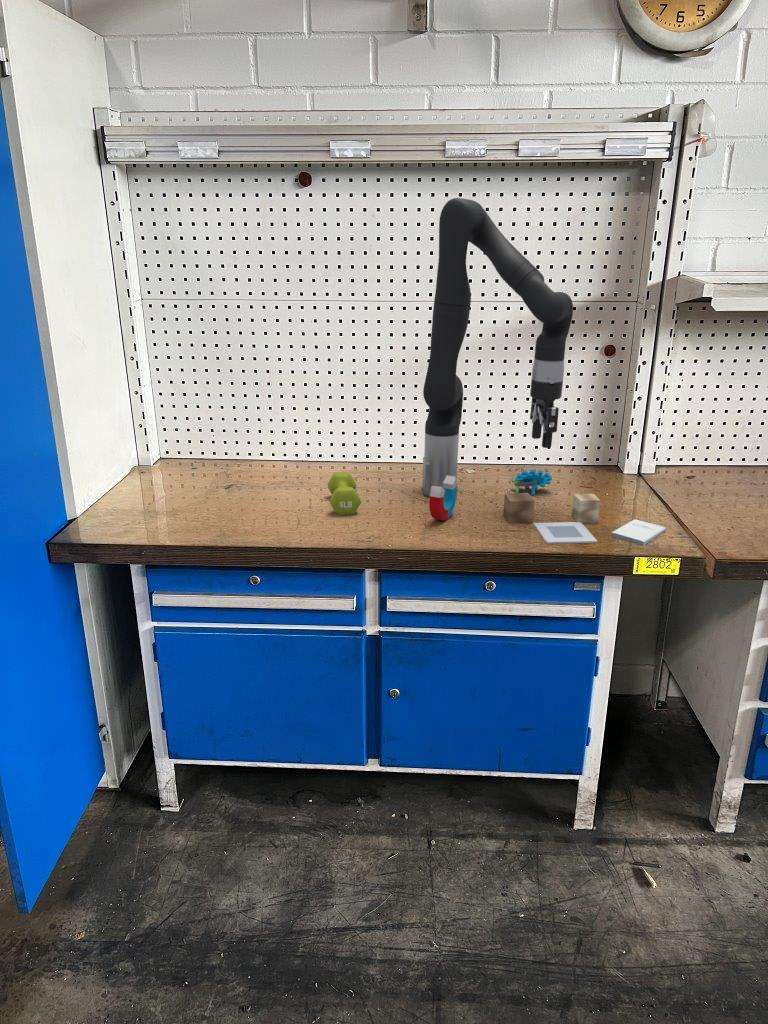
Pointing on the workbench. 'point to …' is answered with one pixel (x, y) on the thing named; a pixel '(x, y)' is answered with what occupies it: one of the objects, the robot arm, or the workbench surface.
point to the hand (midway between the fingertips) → (541, 442)
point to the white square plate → (565, 532)
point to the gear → (531, 479)
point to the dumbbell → (343, 493)
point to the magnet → (443, 499)
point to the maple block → (585, 508)
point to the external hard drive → (638, 532)
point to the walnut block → (518, 508)
